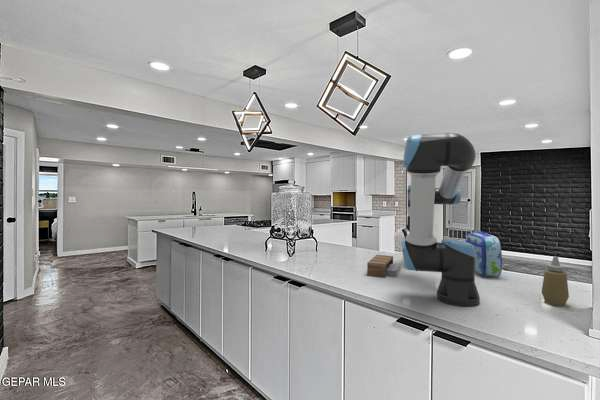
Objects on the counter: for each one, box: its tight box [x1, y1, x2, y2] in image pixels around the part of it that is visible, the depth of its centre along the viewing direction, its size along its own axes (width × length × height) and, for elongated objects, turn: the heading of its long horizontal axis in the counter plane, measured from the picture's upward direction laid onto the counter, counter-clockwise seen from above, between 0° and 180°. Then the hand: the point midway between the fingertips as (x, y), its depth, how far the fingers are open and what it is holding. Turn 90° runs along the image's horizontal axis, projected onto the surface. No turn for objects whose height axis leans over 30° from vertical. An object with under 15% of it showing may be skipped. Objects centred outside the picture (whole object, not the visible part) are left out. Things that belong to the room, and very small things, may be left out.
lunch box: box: [465, 230, 503, 277], centre depth 165 cm, size 26×11×21 cm, turn 168°
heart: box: [394, 226, 435, 254], centre depth 184 cm, size 28×16×22 cm, turn 131°
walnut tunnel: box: [366, 254, 394, 279], centre depth 167 cm, size 22×9×7 cm, turn 154°
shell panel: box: [386, 263, 402, 278], centre depth 166 cm, size 15×12×4 cm
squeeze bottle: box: [541, 255, 570, 307], centre depth 119 cm, size 8×8×18 cm
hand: (414, 262), depth 159 cm, fingers closed
